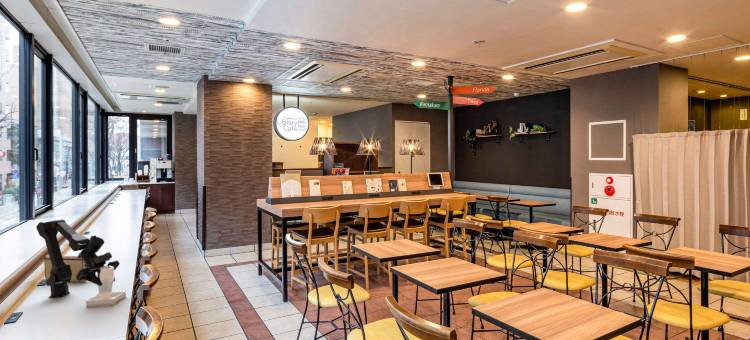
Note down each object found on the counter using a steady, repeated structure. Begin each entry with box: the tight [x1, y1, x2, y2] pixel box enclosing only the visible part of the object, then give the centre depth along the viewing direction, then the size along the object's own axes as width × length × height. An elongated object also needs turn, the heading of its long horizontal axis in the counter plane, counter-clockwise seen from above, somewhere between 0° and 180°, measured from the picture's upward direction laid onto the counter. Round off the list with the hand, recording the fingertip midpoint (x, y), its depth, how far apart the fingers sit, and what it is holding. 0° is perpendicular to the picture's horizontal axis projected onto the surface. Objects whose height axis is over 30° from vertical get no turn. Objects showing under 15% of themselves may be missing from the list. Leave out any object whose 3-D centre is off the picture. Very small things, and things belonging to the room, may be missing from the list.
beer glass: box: [96, 265, 115, 300], centre depth 197 cm, size 7×7×15 cm
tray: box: [85, 290, 127, 308], centre depth 198 cm, size 12×12×3 cm
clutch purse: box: [43, 254, 88, 283], centre depth 236 cm, size 30×7×15 cm, turn 80°
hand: (107, 283), depth 197 cm, fingers closed on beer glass, 6 cm apart
